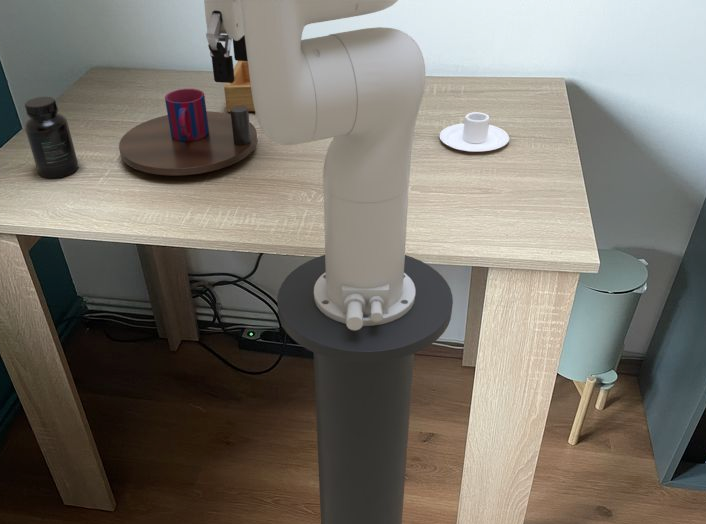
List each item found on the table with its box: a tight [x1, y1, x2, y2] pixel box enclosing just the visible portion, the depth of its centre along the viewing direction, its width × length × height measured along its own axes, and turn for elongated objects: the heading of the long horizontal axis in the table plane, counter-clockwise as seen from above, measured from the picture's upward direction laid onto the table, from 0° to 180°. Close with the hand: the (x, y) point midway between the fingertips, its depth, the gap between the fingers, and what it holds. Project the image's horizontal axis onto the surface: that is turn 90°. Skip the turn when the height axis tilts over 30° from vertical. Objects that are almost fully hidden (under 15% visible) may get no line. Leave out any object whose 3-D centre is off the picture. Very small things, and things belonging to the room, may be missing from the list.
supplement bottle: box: [24, 95, 79, 179], centre depth 122 cm, size 7×7×12 cm
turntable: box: [118, 105, 258, 176], centre depth 125 cm, size 24×24×7 cm
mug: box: [164, 88, 209, 142], centre depth 125 cm, size 7×10×7 cm
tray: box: [223, 61, 255, 113], centre depth 144 cm, size 31×15×6 cm, turn 84°
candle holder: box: [439, 111, 510, 153], centre depth 127 cm, size 12×12×4 cm
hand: (234, 70), depth 117 cm, fingers open, 9 cm apart
